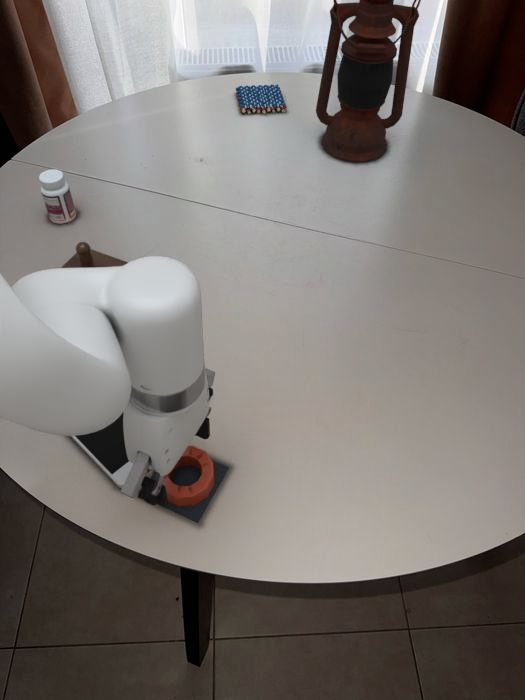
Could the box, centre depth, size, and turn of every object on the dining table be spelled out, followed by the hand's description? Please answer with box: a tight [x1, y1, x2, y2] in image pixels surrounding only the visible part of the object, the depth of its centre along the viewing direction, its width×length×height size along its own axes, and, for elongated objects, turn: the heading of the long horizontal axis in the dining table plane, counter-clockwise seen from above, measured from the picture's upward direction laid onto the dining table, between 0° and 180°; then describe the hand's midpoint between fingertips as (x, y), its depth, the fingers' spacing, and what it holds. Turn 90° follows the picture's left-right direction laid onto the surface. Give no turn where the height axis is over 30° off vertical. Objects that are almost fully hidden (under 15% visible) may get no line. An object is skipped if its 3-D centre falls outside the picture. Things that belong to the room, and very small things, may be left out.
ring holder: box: [60, 241, 129, 268], centre depth 92 cm, size 9×9×7 cm
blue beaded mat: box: [235, 84, 287, 115], centre depth 132 cm, size 10×11×2 cm
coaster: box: [150, 458, 230, 523], centre depth 71 cm, size 8×8×1 cm
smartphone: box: [70, 411, 133, 489], centre depth 75 cm, size 7×16×1 cm, turn 46°
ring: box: [156, 445, 214, 506], centre depth 70 cm, size 7×7×2 cm
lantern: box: [315, 0, 422, 164], centre depth 111 cm, size 17×14×30 cm
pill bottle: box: [38, 168, 77, 225], centre depth 101 cm, size 5×5×8 cm
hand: (177, 465), depth 68 cm, fingers open, 9 cm apart
